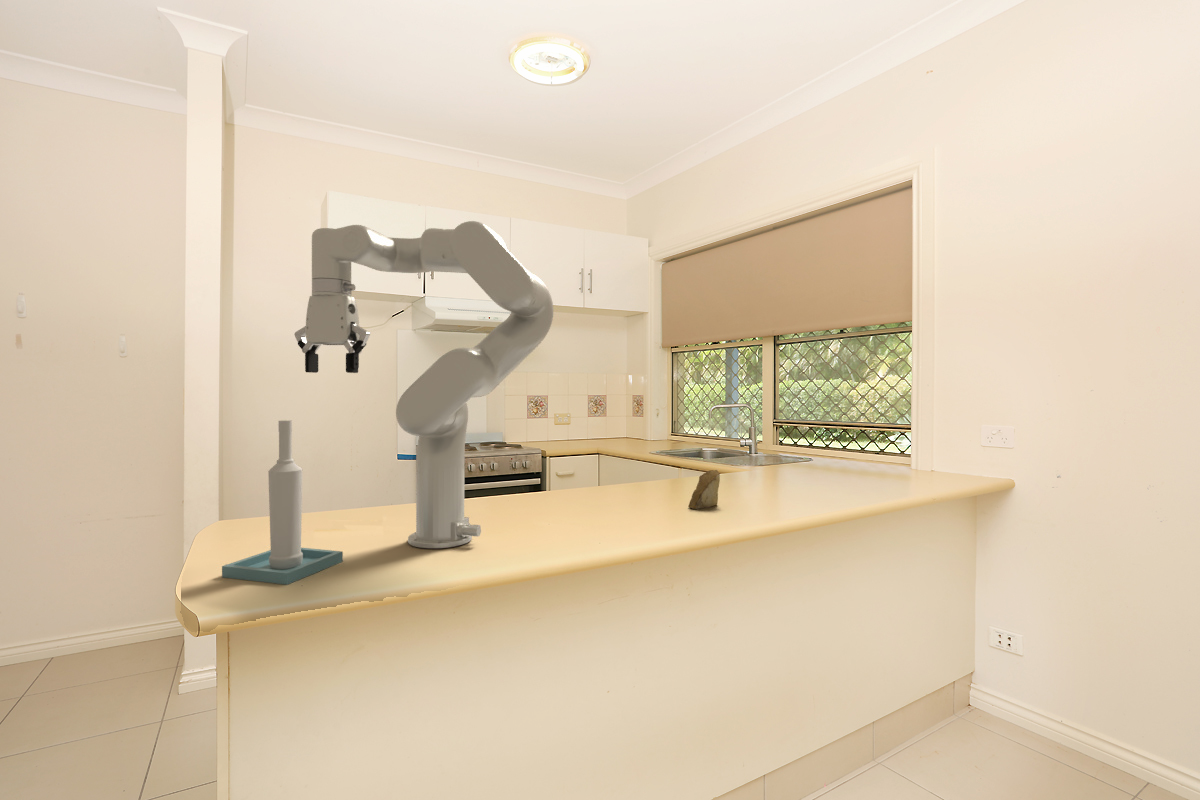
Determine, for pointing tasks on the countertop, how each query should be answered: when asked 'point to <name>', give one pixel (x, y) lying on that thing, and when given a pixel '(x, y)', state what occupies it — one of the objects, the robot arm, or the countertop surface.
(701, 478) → the rock
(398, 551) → the countertop surface
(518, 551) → the countertop surface
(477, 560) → the countertop surface
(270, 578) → the tray
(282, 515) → the bottle
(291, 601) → the countertop surface
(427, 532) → the robot arm
